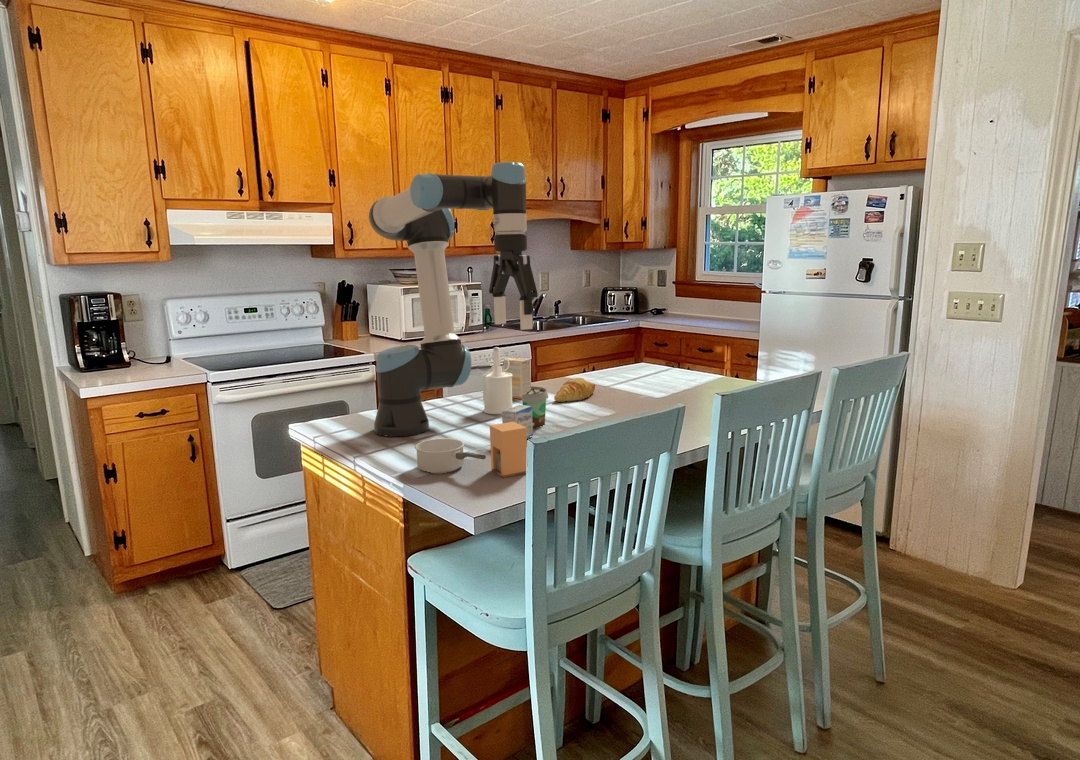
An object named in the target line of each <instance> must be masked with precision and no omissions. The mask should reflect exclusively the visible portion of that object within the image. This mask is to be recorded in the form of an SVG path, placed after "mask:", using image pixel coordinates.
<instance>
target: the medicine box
mask: <svg viewBox="0 0 1080 760" xmlns="http://www.w3.org/2000/svg"><path fill="white" fill-rule="evenodd" d="M512 407H513V408H510V409H507V410H505V411H502V414H501V417H502V423H508V422H515V423H518V424H520V425H522V426H524V427H526V428H527V439H528V440H529V438H530V439H532V438H533V437H530V436H534V434H533V433H534V432H533V431H534V428H533V424H532V407H531V406H526V405H523V404H521V405H520V404H519V405H515V406H512ZM502 423H501V424H502Z"/></svg>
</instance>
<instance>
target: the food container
mask: <svg viewBox="0 0 1080 760" xmlns="http://www.w3.org/2000/svg"><path fill="white" fill-rule="evenodd" d="M547 399H549V392H548V390H547V389H546V388H545V387H541V386H532V385H531V390H530V391H529V392H527V393H526V395H525V394H522V399H521V402H522V405H526V406H531V407H532V424H533V429H536V428H535V427H539V428H541V427H540V426H542V427H543V425H544V426H545V425H546V409H547V408H546V407H547Z"/></svg>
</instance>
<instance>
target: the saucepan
mask: <svg viewBox="0 0 1080 760" xmlns="http://www.w3.org/2000/svg"><path fill="white" fill-rule="evenodd" d="M465 444H466V443H465V442H464V441H463V440H461V439H458V438H451V437H450V438H448V437H447V438H446V437H442V438H430V439H426V440H422V441H419V442H418V443H416V444H415V445H414V449H415V450H416V460H417V461H416V462H417V463H416V464H417V468H418V469H419V470H421V471H423V472H425V471H427V472H426V473H428V472H431V473H430V474H446V473H447V472H448V473H451V472H454V471H456V470H458V469H459V468H460V467H462V466H463V465H465V464H464V463H465V459H466V458H467V457H468V458H474V459H480V460H485V459H486V457H487V456H486V455H484V454H481V453H474V452H470V451H465V452H464V447H465Z"/></svg>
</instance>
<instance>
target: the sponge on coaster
mask: <svg viewBox="0 0 1080 760" xmlns="http://www.w3.org/2000/svg"><path fill="white" fill-rule="evenodd" d="M496 456H497V469H492V468H491V471H492V472H493V473H494V474H496V475H497V476H499V477H501V478H503V479H504V478H511V477H514V476H519V475H525V474H526V473H525V472H526V471H524V472H519V473H514V474H509V475H504V476H503V475H502V474H501V454H500V452H497V453H496Z"/></svg>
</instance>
